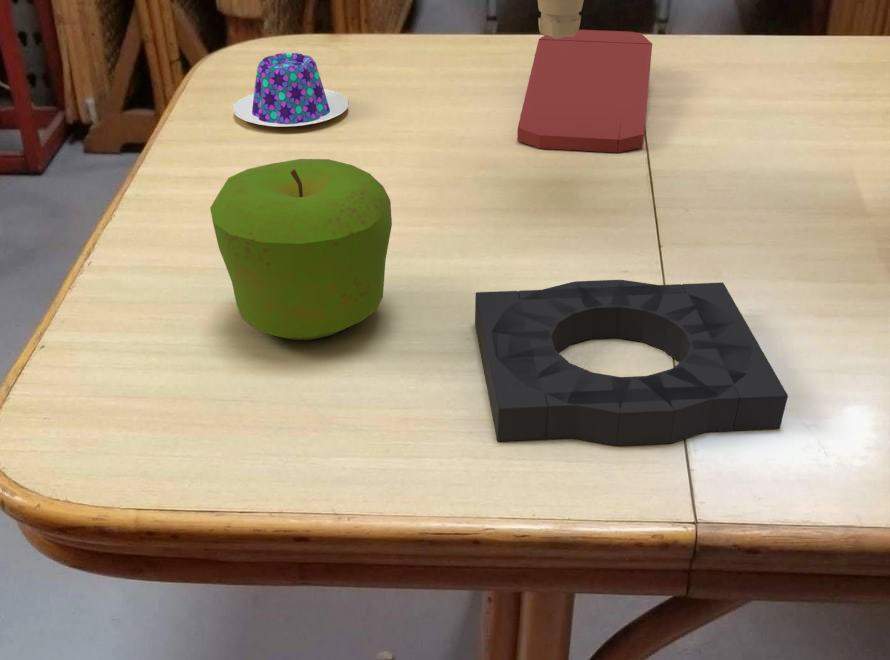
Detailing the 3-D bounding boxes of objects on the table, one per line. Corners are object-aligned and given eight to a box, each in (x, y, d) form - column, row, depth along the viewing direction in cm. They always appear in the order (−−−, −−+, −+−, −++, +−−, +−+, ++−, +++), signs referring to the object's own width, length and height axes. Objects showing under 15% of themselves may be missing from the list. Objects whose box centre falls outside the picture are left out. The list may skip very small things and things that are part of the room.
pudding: (333, 136, 107) (329, 82, 103) (218, 130, 108) (210, 76, 105) (360, 96, 115) (357, 44, 112) (253, 91, 117) (247, 40, 114)
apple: (334, 381, 72) (321, 222, 65) (192, 337, 77) (164, 184, 70) (424, 302, 81) (422, 152, 73) (291, 267, 85) (276, 123, 78)
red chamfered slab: (637, 187, 105) (648, 67, 121) (643, 140, 101) (654, 22, 117) (514, 180, 107) (541, 62, 122) (516, 134, 103) (543, 18, 119)
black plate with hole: (713, 306, 80) (719, 275, 78) (785, 438, 67) (794, 404, 65) (473, 316, 79) (474, 284, 77) (499, 451, 66) (500, 418, 64)
